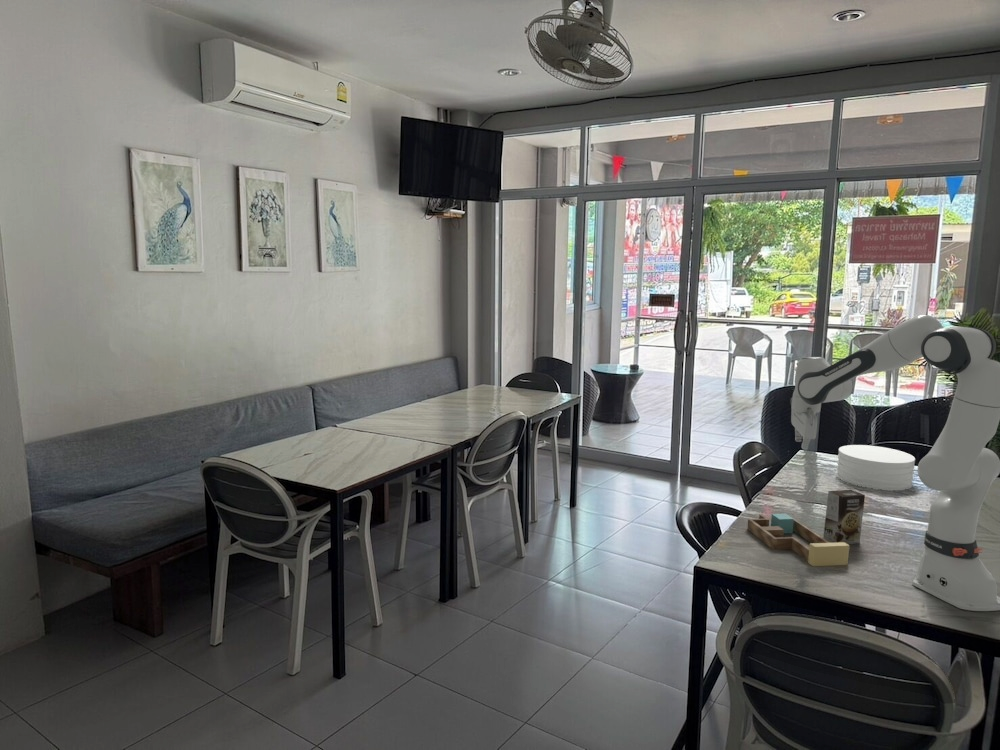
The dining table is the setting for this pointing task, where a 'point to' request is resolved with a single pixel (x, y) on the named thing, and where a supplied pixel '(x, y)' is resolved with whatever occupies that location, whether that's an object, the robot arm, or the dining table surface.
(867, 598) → the dining table surface
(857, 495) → the coffee box
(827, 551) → the bumper
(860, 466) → the plate stack
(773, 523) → the block
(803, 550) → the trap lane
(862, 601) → the dining table surface
